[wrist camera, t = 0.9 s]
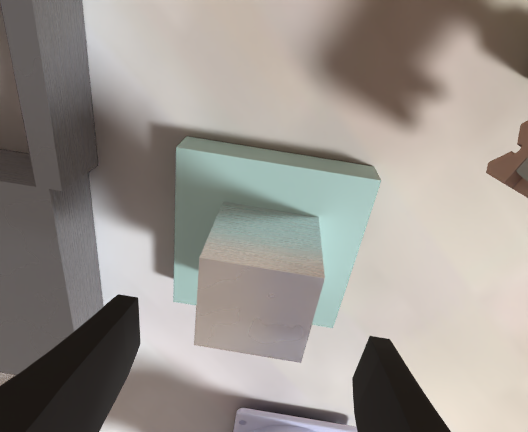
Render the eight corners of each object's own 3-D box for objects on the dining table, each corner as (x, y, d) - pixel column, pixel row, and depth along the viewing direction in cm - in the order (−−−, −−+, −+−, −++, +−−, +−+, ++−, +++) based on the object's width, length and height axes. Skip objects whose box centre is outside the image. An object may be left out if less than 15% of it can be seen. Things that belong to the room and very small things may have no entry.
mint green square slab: (330, 306, 19) (332, 328, 18) (182, 282, 19) (173, 301, 18) (373, 166, 15) (381, 180, 14) (186, 136, 15) (175, 147, 14)
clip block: (300, 290, 17) (300, 362, 13) (215, 276, 17) (193, 345, 13) (318, 216, 15) (324, 278, 11) (223, 201, 15) (199, 257, 11)
